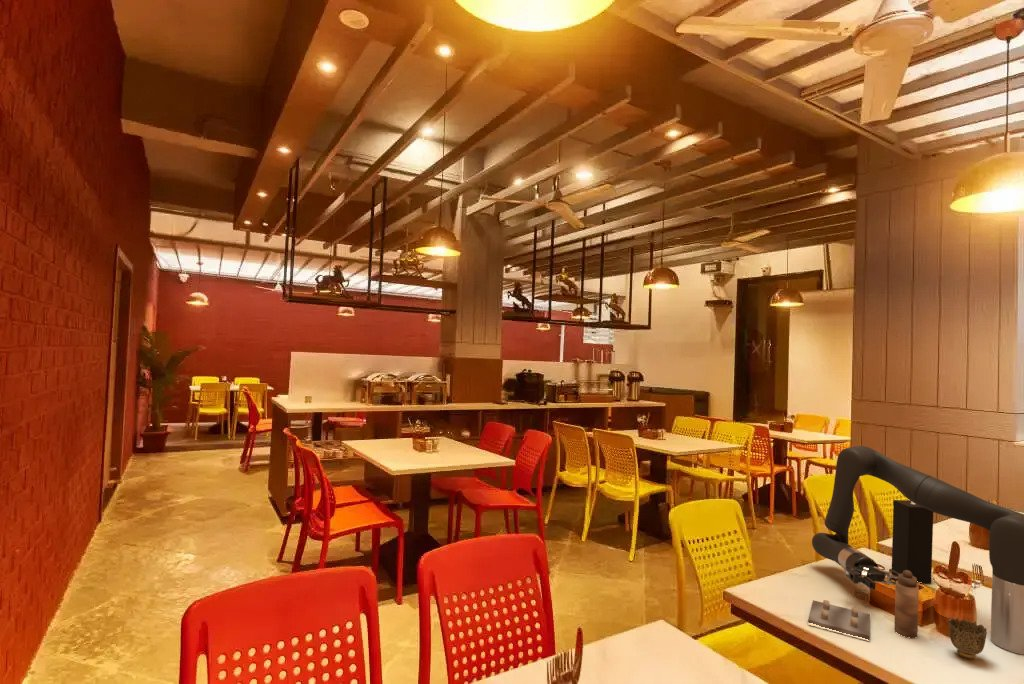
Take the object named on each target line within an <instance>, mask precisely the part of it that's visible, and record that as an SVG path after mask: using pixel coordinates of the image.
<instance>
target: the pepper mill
mask: <svg viewBox="0 0 1024 684" xmlns="http://www.w3.org/2000/svg"><path fill="white" fill-rule="evenodd" d="M919 591H920V586H919V585H918V583H917V578H916V577H914V576H913V575H912V573H911V572H910V571H909V570H904V571H903V573H902V574H898V580H897V581H896V586H895V594H894V595H895V596H894V598H895V599H894V625H893V626H894V630H895V631H894V632H895V633H896V632H897V633H898V634H897V633H896V634H897V635H899V634H900V635H899V636H901V635H902V636H901V637H903V636H905V637H904V638H907V637H910V638H909V639H916V638H915V637H917V638H918V628H919V627H918V624H919V598H920V596H919V594H920V592H919Z"/></svg>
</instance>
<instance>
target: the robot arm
mask: <svg viewBox="0 0 1024 684" xmlns="http://www.w3.org/2000/svg"><path fill="white" fill-rule="evenodd" d="M834 473H835V475H834V483H833V489H832V495H831V500H830V503H829V506H828V509H827V512H826V516H825V519H824V525H825V527H826V529H828V530H829V531H831V532H833V533H835V534H832V533H827V532H826V533H825V532H817V533H815V534H814V535H813V536H812V538H811V546H812V549H813V550H814V551H815V552H816V553H817V554H818V555H820V556H821V557H823V558H825V559H827V560H830V561H833V562H835V563H836V564H837V565H839V566H840V567H841V568H842V569H844V570H845V577H847V578H848V579H849V581H851V582H852V583H854V584H859V583H860V584H861V585H863V586H864V585H865V586H866V587H867V588H869V589H871V590H872V591H875V590H876V583H881V584H885V585H887V586H890V585H891V586H892V585H893V586H895V587H896V581H897V580H898V574H900V573H898V572H896V571H895V570H893V569H892V568H889V569H888V571H887V570H886V569H885V570H884V569H882V568H880V567H879V565H878V564H877V562H876V560H874V558H873V559H872V558H871V557H870V556H868V555H866V554H865V553H864V552H862V551H860V550H859V549H857V548H855V547H853V546H851V545H850V544H849V530H850V525H851V523H852V520H853V516H854V513H855V503H854V490H855V487H856V485H857V482H858V481H859V479H860V477H863V476H871V477H873V478H877V479H880V480H882V481H884V482H885V483H888V484H890V485H891V486H893V487H894V488H895V489H897V490H898V491H899V492H900V493H901V494H902V496H903V497H904V498H906V499H907V500H910V501H912V502H914V503H915V504H917V505H919V506H922V507H924V508H926V509H928V510H930V511H932V512H934V513H936V514H938V515H941V516H943V517H947V518H951V519H955V520H959V521H963V522H967V523H969V524H973V525H976V526H978V527H981V528H983V529H985V530H987V531H989V533H988V556H989V557H988V558H989V563H990V566H991V569H992V573H991V574H992V575H991V576H992V577H991V604H990V606H991V607H990V630H989V634H990V641H991V643H993V644H994V645H996V646H997V647H1000V648H1002V649H1003V650H1006V651H1009V652H1012V653H1015V654H1018V655H1023V656H1024V513H1021V512H1018V511H1016V510H1012V509H1010V508H1007V507H1004V506H1001V505H998V504H995V503H993V502H990V501H987V500H985V499H982V498H981V497H979V496H976V495H974V494H972V493H970V492H968V491H966V490H964V489H961V488H958V487H956V486H954V485H952V484H950V483H948V482H946V481H943V480H942V479H939V478H938V477H937V478H936V477H934V476H932V475H929V474H926V473H924V472H922V471H920V470H917V469H914V468H912V467H910V466H907V465H905V464H902V463H900V462H898V461H895V460H893V459H891V458H890V457H888V456H886V455H885V454H882V453H880V452H879V451H877V450H875V449H873V448H871V447H869V446H865V445H855V446H852V447H851V446H850V447H846V448H843V449H842V450H841V451H839V452H838V455H837V458H836V463H835V472H834ZM885 579H886V580H885Z"/></svg>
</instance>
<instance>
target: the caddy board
mask: <svg viewBox="0 0 1024 684" xmlns="http://www.w3.org/2000/svg"><path fill="white" fill-rule="evenodd" d="M808 622H809V623H813V624H816V625H819V626H821V627H825V628H829V629H832V630H836V631H839V632H842V633H846V634H850V635H853V636H858V637H862V638H865V639H868V640H870V637H871V633H870V632H871V614H870V613H867V612H864V611H859V608H857V607H856V606H851V608H846V607H843V606H842V607H841V606H839V605H834V604H831V602H830V601H829V600H827V599H823V600H822V601H818V600H812V603H811V607H810V611H809V616H808V619H807V623H808Z"/></svg>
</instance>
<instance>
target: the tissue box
mask: <svg viewBox="0 0 1024 684" xmlns="http://www.w3.org/2000/svg"><path fill="white" fill-rule="evenodd" d="M892 506H893V508H892V509H893V510H892V511H893V512H892V514H893V515H892V538H891V539H892V544H891V569H893V570H895V571H896V572H898V573H900V574H902V573H903V571H904V570H909V571H910V572H911V573H912V575H913V576H914V577H916V578H917V581H918V582H922V583H925V584H926V585H927V584H928V585H932V569H933V568H932V566H933V542H934V541H933V538H934V537H933V536H934V533H933V532H934V513H935V512H932V511H930V510H928V509H926V508H924V507H922V506H919V505H917V504H915V503H914V502H912V501H910V500H909V499H907V500H906V499H903V500H902V499H900V500H899V499H893V501H892ZM925 584H924V585H925Z"/></svg>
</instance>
